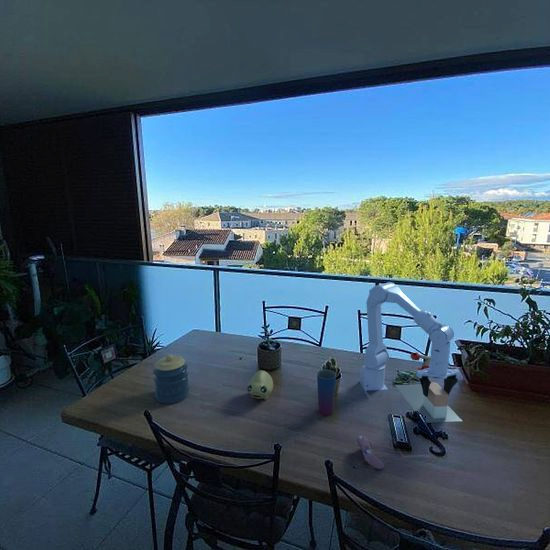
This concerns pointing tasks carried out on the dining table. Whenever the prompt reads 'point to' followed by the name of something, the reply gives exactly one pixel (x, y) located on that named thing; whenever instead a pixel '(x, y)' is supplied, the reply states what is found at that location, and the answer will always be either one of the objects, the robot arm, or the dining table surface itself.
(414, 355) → the toy fire truck
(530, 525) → the dining table surface
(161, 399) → the canister
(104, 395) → the dining table surface
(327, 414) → the cup
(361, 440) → the pink curved figurine
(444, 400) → the tan rectangular block
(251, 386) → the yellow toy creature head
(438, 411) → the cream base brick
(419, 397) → the baseplate
